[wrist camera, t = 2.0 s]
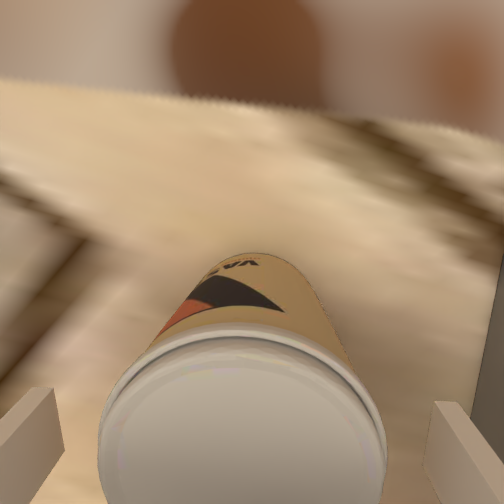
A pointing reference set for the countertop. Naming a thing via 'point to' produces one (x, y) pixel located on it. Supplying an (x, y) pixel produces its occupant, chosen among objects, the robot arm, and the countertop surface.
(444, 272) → the countertop surface
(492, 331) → the walled box
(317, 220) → the countertop surface
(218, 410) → the coffee cup
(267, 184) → the countertop surface
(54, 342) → the countertop surface
